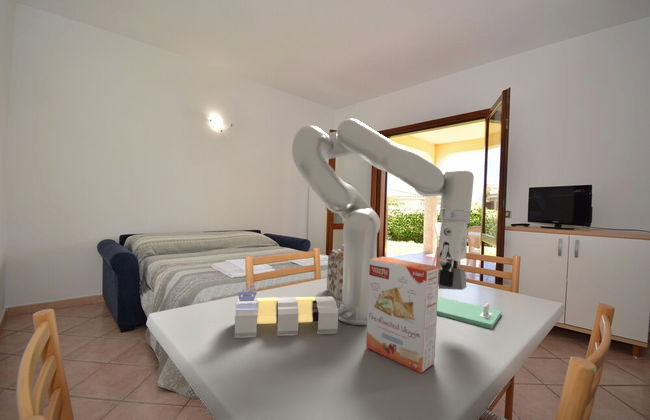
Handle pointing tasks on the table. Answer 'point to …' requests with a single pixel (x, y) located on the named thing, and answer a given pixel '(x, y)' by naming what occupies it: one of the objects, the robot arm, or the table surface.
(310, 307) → the white and yellow block
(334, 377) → the table surface
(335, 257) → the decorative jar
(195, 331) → the table surface
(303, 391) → the table surface
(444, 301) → the board
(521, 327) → the table surface
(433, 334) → the cracker box
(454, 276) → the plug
